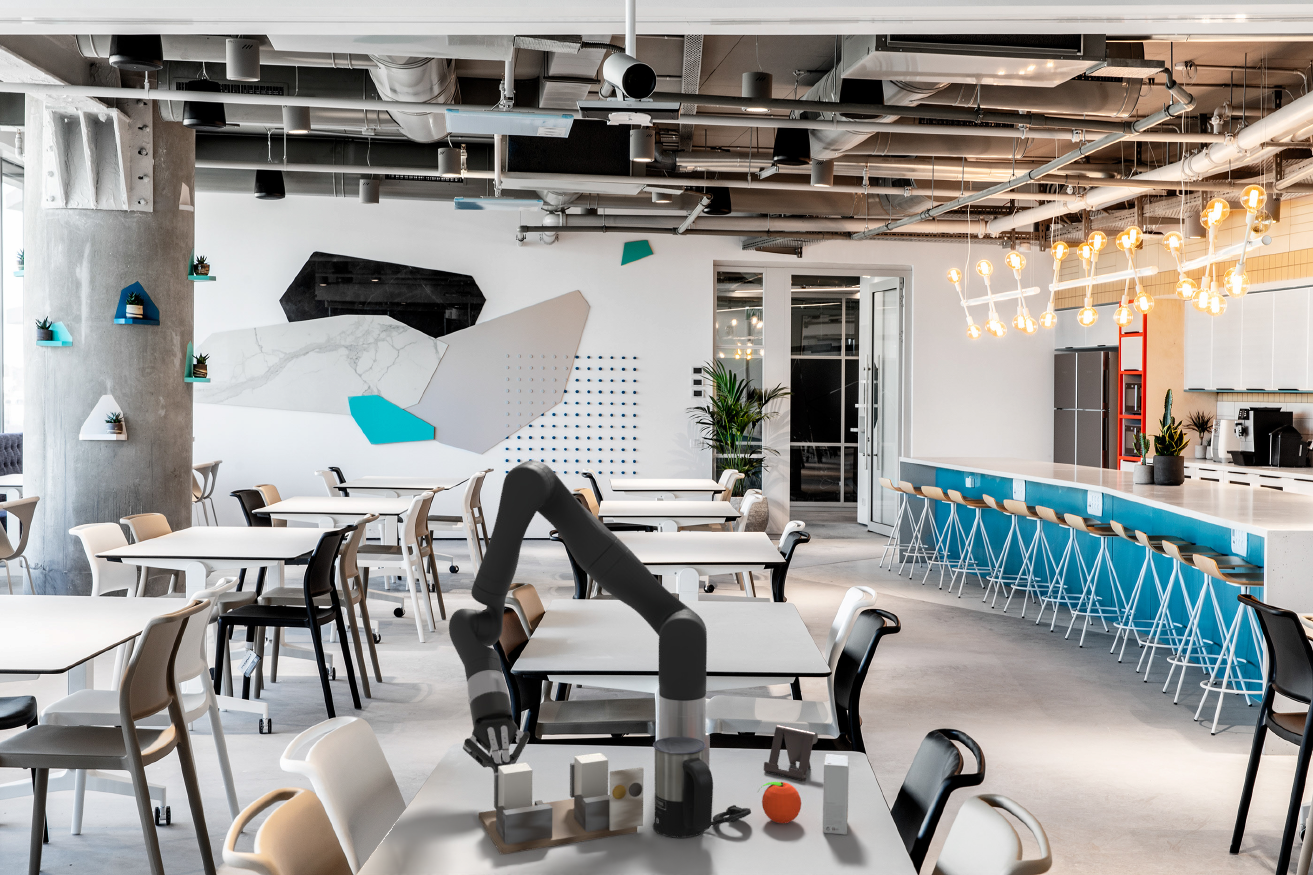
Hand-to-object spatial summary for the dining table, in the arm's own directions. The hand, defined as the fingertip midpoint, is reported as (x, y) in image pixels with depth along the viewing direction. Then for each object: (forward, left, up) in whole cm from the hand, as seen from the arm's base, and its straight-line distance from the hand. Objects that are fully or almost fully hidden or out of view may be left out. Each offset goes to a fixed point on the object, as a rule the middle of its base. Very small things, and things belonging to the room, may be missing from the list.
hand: (505, 784), depth 185 cm
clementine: (-44, +22, -5) cm, 49 cm away
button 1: (0, +7, -4) cm, 7 cm away
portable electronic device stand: (-59, +1, -5) cm, 59 cm away
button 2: (-14, +7, -4) cm, 16 cm away
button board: (-7, +9, -5) cm, 12 cm away
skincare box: (-52, +28, -5) cm, 59 cm away
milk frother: (-30, +19, -5) cm, 36 cm away
